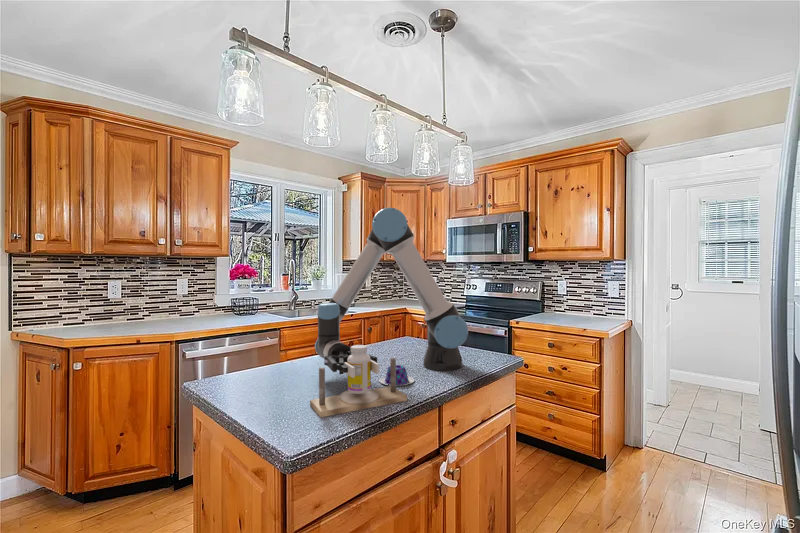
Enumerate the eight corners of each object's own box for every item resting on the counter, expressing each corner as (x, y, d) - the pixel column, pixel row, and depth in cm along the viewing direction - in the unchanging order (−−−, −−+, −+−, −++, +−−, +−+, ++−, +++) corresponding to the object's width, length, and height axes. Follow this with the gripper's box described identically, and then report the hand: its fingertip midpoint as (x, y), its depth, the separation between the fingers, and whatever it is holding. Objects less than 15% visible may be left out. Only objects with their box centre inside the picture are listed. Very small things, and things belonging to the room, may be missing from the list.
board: (390, 390, 125) (390, 354, 125) (408, 401, 116) (407, 361, 115) (309, 404, 113) (309, 364, 113) (321, 418, 103) (320, 374, 103)
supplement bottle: (364, 385, 119) (364, 343, 119) (375, 392, 113) (374, 347, 113) (343, 389, 115) (343, 345, 115) (353, 396, 110) (353, 349, 109)
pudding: (417, 386, 130) (417, 370, 129) (380, 388, 128) (380, 372, 128) (411, 376, 141) (410, 361, 141) (377, 378, 140) (377, 363, 140)
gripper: (365, 361, 135) (397, 379, 114) (308, 369, 125) (332, 389, 105) (365, 339, 135) (397, 353, 114) (308, 345, 125) (331, 361, 105)
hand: (366, 370), depth 110 cm, fingers closed on supplement bottle, 7 cm apart
